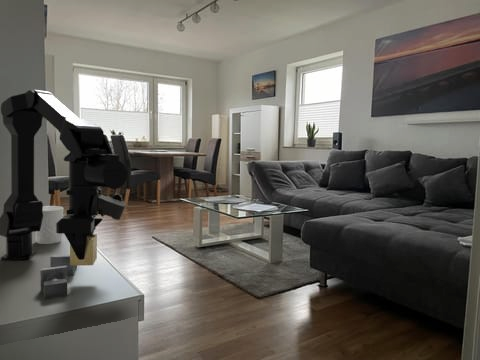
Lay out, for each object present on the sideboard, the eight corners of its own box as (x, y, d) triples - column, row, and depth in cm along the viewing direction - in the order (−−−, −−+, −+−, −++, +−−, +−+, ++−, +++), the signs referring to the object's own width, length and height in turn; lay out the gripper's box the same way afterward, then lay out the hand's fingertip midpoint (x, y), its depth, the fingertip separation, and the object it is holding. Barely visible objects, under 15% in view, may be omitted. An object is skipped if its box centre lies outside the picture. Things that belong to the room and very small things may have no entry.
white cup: (56, 236, 113) (56, 204, 112) (68, 241, 108) (68, 208, 107) (29, 240, 107) (28, 207, 106) (40, 246, 102) (40, 211, 101)
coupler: (75, 258, 80) (75, 234, 79) (96, 258, 81) (96, 234, 80) (70, 265, 76) (70, 240, 75) (92, 265, 76) (93, 239, 76)
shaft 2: (57, 267, 86) (57, 249, 86) (78, 267, 87) (78, 249, 87) (50, 276, 81) (50, 256, 81) (73, 275, 82) (73, 256, 82)
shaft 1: (40, 289, 74) (40, 268, 73) (66, 285, 76) (66, 265, 76) (42, 299, 69) (41, 277, 69) (69, 295, 72) (69, 273, 71)
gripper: (118, 191, 69) (117, 270, 71) (128, 180, 87) (127, 243, 89) (55, 189, 67) (55, 271, 68) (78, 179, 85) (78, 243, 87)
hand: (83, 255), depth 78 cm, fingers closed on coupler, 4 cm apart
